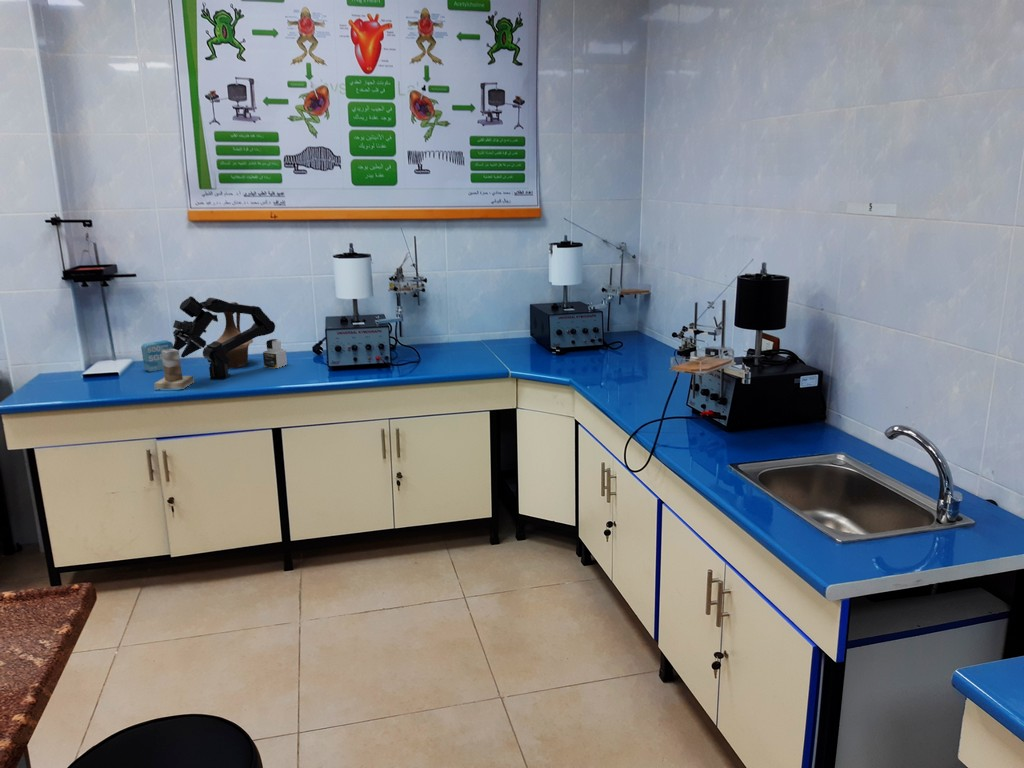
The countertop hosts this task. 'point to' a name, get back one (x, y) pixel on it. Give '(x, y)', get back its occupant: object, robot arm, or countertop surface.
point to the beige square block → (174, 383)
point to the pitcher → (239, 354)
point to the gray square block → (171, 365)
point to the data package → (154, 354)
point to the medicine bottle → (274, 354)
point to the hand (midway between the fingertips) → (176, 355)
